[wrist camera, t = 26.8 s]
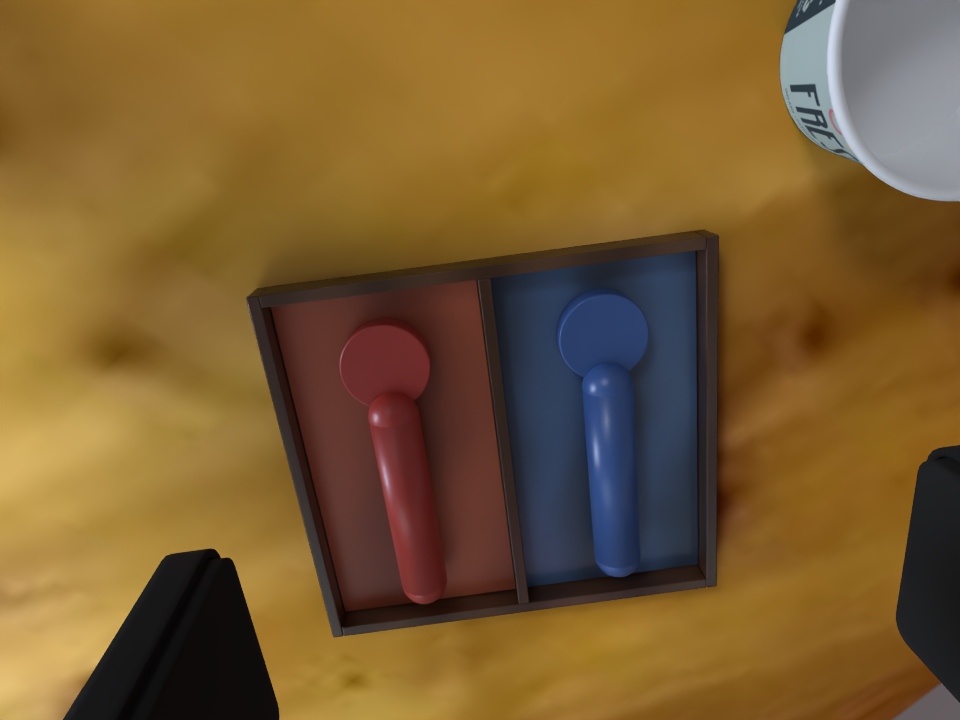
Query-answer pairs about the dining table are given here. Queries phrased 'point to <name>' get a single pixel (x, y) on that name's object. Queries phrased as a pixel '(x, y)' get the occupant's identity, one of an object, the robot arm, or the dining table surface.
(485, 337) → the sorting tray
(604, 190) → the dining table surface
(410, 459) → the red spoon
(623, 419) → the blue spoon
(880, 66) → the food container
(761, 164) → the dining table surface
